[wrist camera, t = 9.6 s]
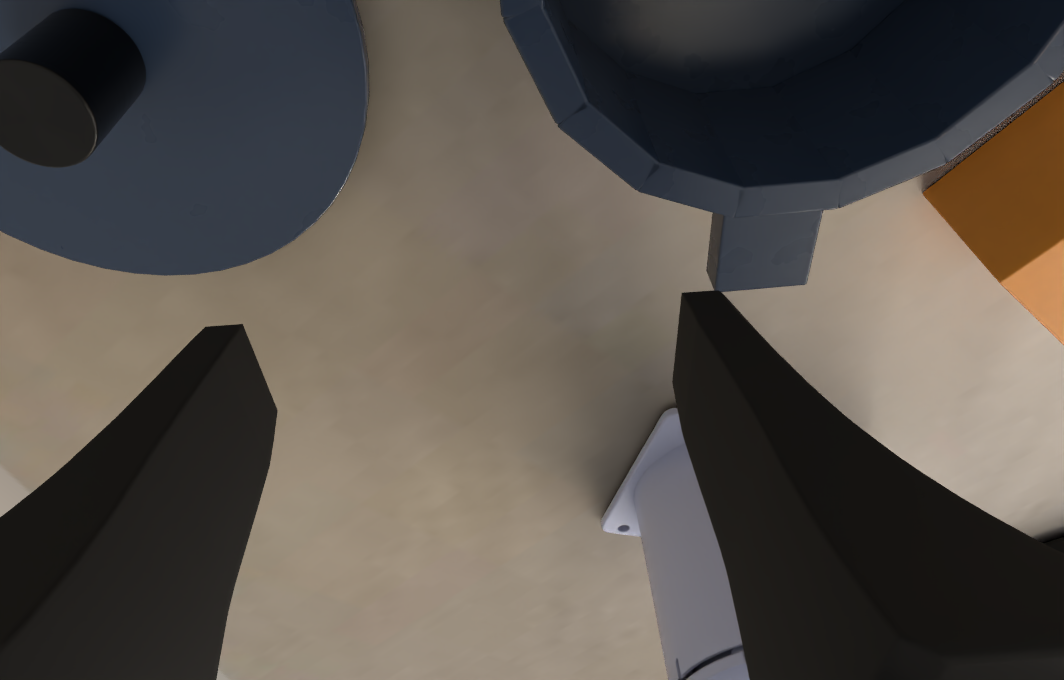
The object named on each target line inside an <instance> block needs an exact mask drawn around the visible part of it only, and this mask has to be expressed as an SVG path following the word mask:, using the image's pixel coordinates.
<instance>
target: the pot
mask: <svg viewBox="0 0 1064 680" xmlns="http://www.w3.org/2000/svg"><path fill="white" fill-rule="evenodd" d="M500 6H501V15H502V17H503V20H504V24H505V26H506V28H507V29H508V31H509V33H510V35H511V37H512V39H513V41H514V43H515V45H516V47H517V49H518V51H519V53H520V55H521V57H522V59H523V61H524V63H525V65H526V67H527V69H528V71H529V72H530V74H531V76H532V78H533V80H534V82H535V84H536V86H537V88H538V90H539V92H540V94H541V96H542V98H543V100H544V102H545V104H546V106H547V108H548V110H549V112H550V114H551V116H552V117H553V119H554V121H555V123H557V124H558V127H559V128H560V129H561V130H562V131H564V132H565V133H566V134H567V135H568V136H570V137H571V138H572V139H573V140H575V141H576V142H577V143H578V144H580V145H581V146H582V147H583V148H585V149H586V150H587V151H588V152H589V153H591V154H592V155H593V156H594V157H596V158H597V159H598V160H599V161H601V162H602V163H603V164H604V165H605V166H607V167H608V168H609V169H610V170H612V171H613V172H614V173H615V174H617V175H618V176H619V177H620V178H621V179H623V180H624V181H625V182H626V183H628V184H629V185H630V186H631V187H633V188H634V189H635V190H638V191H639V192H641V193H645V194H648V195H652V196H656V197H659V198H663V199H666V200H670V201H674V202H677V203H681V204H684V205H688V206H692V207H695V208H699V209H702V210H706V211H710V212H713V214H712V224H711V233H710V242H709V251H708V260H707V273H708V275H709V278H710V281H711V283H712V286H713V288H714V291H716V290H719V291H720V292H726V291H738V290H749V289H760V288H772V287H783V286H795V285H805V284H806V283H807V280H808V276H809V271H810V267H811V262H812V258H813V253H814V249H815V244H816V240H817V235H818V231H819V226H820V222H821V217H822V213H823V210H830V209H837V208H841V207H844V206H846V205H848V204H851V203H853V202H856V201H858V200H861V199H863V198H865V197H868V196H870V195H873V194H875V193H878V192H880V191H883V190H885V189H887V188H890V187H892V186H895V185H897V184H900V183H902V182H904V181H907V180H909V179H912V178H914V177H917V176H919V175H921V174H924V173H926V172H929V171H931V170H934V169H936V168H939V167H941V166H943V165H945V164H946V163H947V162H950V161H951V160H953V159H954V158H955V157H957V156H958V155H959V154H961V153H962V152H963V151H965V150H966V149H967V148H968V147H970V146H971V145H972V144H974V143H975V142H976V141H978V140H979V139H980V138H982V137H983V136H984V135H986V134H987V133H988V132H990V131H991V130H992V129H993V128H995V127H996V126H997V125H999V124H1000V123H1001V122H1003V121H1004V120H1005V119H1007V118H1008V117H1009V116H1011V115H1012V114H1013V113H1015V112H1016V111H1017V110H1018V109H1020V108H1021V107H1022V106H1024V105H1025V104H1026V103H1028V102H1029V101H1030V100H1032V99H1033V98H1034V97H1036V96H1037V95H1038V94H1040V93H1041V92H1042V91H1043V90H1045V89H1046V88H1047V87H1049V86H1050V85H1051V84H1052V83H1053V80H1056V79H1057V78H1058V77H1059V76H1060V75H1061V74H1062V72H1063V71H1064V0H500Z"/></svg>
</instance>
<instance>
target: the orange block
mask: <svg viewBox="0 0 1064 680" xmlns="http://www.w3.org/2000/svg"><path fill="white" fill-rule="evenodd" d="M923 195H924V196H925V197H926V199H927V200H928V201H929V202H930V203H931V204H932V206H933V207H934V208H935V209H936V210H937V211H938V212H939V214H940V215H941V216H942V217H943V218H944V219H945V221H946V222H947V223H948V224H949V225H950V226H951V227H952V229H953V230H954V231H955V232H956V233H957V234H958V236H959V237H960V238H961V239H962V240H963V241H964V242H965V244H966V245H967V246H968V247H969V248H970V249H971V251H972V252H973V253H974V254H975V255H976V256H977V257H978V259H979V260H980V261H981V262H982V263H983V264H984V266H985V267H986V268H987V269H988V270H989V271H990V272H991V274H992V275H993V276H994V277H995V278H996V279H997V281H998V282H999V283H1000V284H1001V285H1002V286H1003V287H1004V288H1005V289H1006V290H1007V291H1008V292H1009V293H1011V294H1012V295H1013V296H1014V297H1015V298H1016V299H1017V300H1018V301H1019V302H1020V303H1021V304H1022V305H1023V306H1024V307H1025V308H1026V309H1027V310H1028V311H1029V312H1030V313H1031V314H1032V315H1033V316H1034V317H1035V318H1036V319H1037V320H1038V321H1039V322H1040V323H1041V324H1042V325H1043V326H1045V327H1046V328H1047V329H1048V330H1049V331H1050V332H1051V333H1052V334H1053V335H1054V336H1055V337H1056V338H1057V339H1058V340H1059V341H1060V342H1061V343H1062V344H1063V345H1064V82H1062V83H1061V84H1060V85H1059V86H1057V87H1056V88H1055V89H1054V90H1052V91H1051V92H1050V93H1049V94H1047V95H1046V96H1045V97H1043V98H1042V99H1041V100H1040V101H1038V102H1037V103H1036V104H1035V105H1033V106H1032V107H1031V108H1030V109H1028V110H1027V111H1026V112H1024V113H1023V114H1022V115H1021V116H1019V117H1018V118H1017V119H1016V120H1014V121H1013V122H1012V123H1011V124H1009V125H1008V126H1007V127H1005V128H1004V129H1003V130H1002V131H1000V132H999V133H998V134H997V135H995V136H994V137H993V138H992V139H990V140H989V141H988V142H986V143H985V144H984V145H983V146H981V147H980V148H979V149H978V150H976V151H975V152H974V153H973V154H971V155H970V156H969V157H968V158H966V159H965V160H964V161H962V162H961V163H960V164H959V165H957V166H956V167H955V168H954V169H952V170H951V171H950V172H949V173H947V174H946V175H945V176H943V177H942V178H941V179H940V180H938V181H937V182H936V183H935V184H933V185H932V186H931V187H930V188H928V189H927V190H926V191H924V192H923Z"/></svg>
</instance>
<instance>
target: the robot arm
mask: <svg viewBox="0 0 1064 680" xmlns="http://www.w3.org/2000/svg"><path fill="white" fill-rule="evenodd" d="M672 383H673V388H674V393H675V399H676V404H677V408H671V409H668V410H667V411H665V412H664V413H663V414H662V415H661V417H660V419H659V421H658V422H657V424H656V426H655V428H654V429H653V431H652V433H651V434H650V436H649V438H648V440H647V441H646V443H645V445H644V447H643V448H642V450H641V452H640V453H639V455H638V457H637V459H636V460H635V462H634V464H633V466H632V467H631V469H630V471H629V472H628V474H627V476H626V478H625V479H624V481H623V483H622V485H621V486H620V488H619V490H618V491H617V493H616V495H615V497H614V498H613V500H612V502H611V504H610V505H609V507H608V509H607V510H606V512H605V514H604V516H603V517H602V519H601V526H602V529H603V530H604V531H605V532H608V533H615V534H624V535H632V536H640V537H641V539H642V544H643V549H644V554H645V560H646V565H647V570H648V575H649V581H650V586H651V591H652V597H653V602H654V607H655V612H656V618H657V623H658V628H659V633H660V639H661V644H662V649H663V654H664V660H665V665H666V670H667V675H668V680H1064V553H1062V552H1060V551H1058V550H1056V549H1053V548H1051V547H1049V546H1047V545H1045V544H1043V543H1041V542H1039V541H1037V540H1036V539H1034V538H1032V537H1030V536H1028V535H1026V534H1024V533H1023V532H1021V531H1019V530H1017V529H1015V528H1014V527H1012V526H1010V525H1008V524H1006V523H1004V522H1003V521H1001V520H999V519H997V518H995V517H993V516H992V515H990V514H988V513H986V512H985V511H983V510H981V509H980V508H978V507H976V506H975V505H973V504H971V503H969V502H968V501H966V500H964V499H963V498H961V497H959V496H958V495H956V494H955V493H953V492H951V491H950V490H948V489H947V488H945V487H944V486H942V485H941V484H939V483H937V482H936V481H934V480H933V479H931V478H930V477H928V476H927V475H925V474H923V473H922V472H920V471H919V470H917V469H916V468H914V467H913V466H911V465H910V464H909V463H907V462H906V461H904V460H903V459H901V458H900V457H898V456H897V455H896V454H894V453H893V452H892V451H890V450H889V449H888V448H886V447H885V446H883V445H882V444H881V443H879V442H878V441H877V440H875V439H874V438H873V437H871V436H870V435H869V434H867V433H866V432H865V431H863V430H862V429H861V428H860V427H858V426H857V425H856V424H855V423H853V422H852V421H851V420H850V419H848V418H847V417H846V416H845V415H844V414H842V413H841V412H840V411H839V410H838V409H837V408H836V407H834V406H833V405H832V404H831V403H830V402H829V401H828V400H827V399H825V398H824V397H823V396H822V395H821V394H820V393H819V392H818V391H817V390H815V389H814V388H813V387H812V386H811V385H810V384H809V383H808V382H807V381H806V380H805V379H804V378H803V377H802V376H801V375H800V374H799V373H798V372H797V371H796V370H795V369H794V368H792V367H791V366H790V365H789V364H788V363H787V362H786V361H785V360H784V359H783V358H782V357H781V356H780V355H779V354H778V353H777V352H776V351H775V350H774V349H773V347H772V346H771V345H770V344H769V343H768V342H767V341H766V340H765V339H764V338H763V337H762V336H761V335H760V334H759V333H758V332H757V331H756V330H755V328H754V327H753V326H752V325H751V324H750V323H749V322H748V321H747V320H746V319H745V318H744V316H743V315H742V314H741V313H740V312H739V311H738V310H737V309H736V308H735V306H734V305H733V304H732V303H731V302H730V301H729V300H728V299H727V298H726V297H725V295H723V294H722V293H721V292H720V291H719V290H716V291H702V292H688V293H682V297H681V306H680V315H679V325H678V334H677V344H676V353H675V363H674V372H673V381H672ZM276 418H277V408H276V406H275V403H274V401H273V398H272V396H271V393H270V391H269V388H268V386H267V383H266V381H265V378H264V376H263V373H262V371H261V368H260V366H259V363H258V361H257V359H256V356H255V354H254V351H253V349H252V346H251V344H250V341H249V339H248V336H247V334H246V331H245V329H244V326H243V324H239V325H224V326H210V327H205V328H204V329H203V330H202V331H201V332H200V333H199V334H198V335H196V336H195V337H194V338H193V339H192V340H191V341H190V342H189V344H188V345H187V346H186V347H185V348H184V349H183V350H182V351H181V352H180V353H179V354H178V355H177V356H176V357H175V358H174V359H173V360H172V361H171V362H170V363H169V364H168V365H167V366H166V367H165V368H164V369H163V370H162V371H161V373H160V374H159V375H158V376H157V377H156V378H155V379H154V380H153V381H152V382H151V383H150V384H149V385H148V386H147V387H146V388H145V389H144V390H143V391H142V392H141V393H140V394H139V395H138V396H137V397H136V398H135V399H134V400H133V401H132V402H131V403H130V404H129V405H128V406H127V407H126V408H125V409H124V410H123V411H122V412H121V413H120V414H119V415H118V416H117V417H116V418H115V419H114V420H113V421H112V422H111V423H110V424H109V425H108V426H106V427H105V428H104V429H103V430H102V431H101V432H100V433H99V434H98V435H97V436H96V437H95V438H94V439H92V440H91V441H90V442H89V443H88V444H87V445H86V446H85V447H84V448H83V449H82V450H81V451H80V452H78V453H77V454H76V455H75V456H74V457H73V458H72V459H71V460H70V461H69V462H68V463H67V464H65V465H64V466H63V467H62V468H61V469H60V470H58V471H57V472H56V473H55V474H54V475H53V476H51V477H50V478H49V479H48V480H47V481H45V482H44V483H43V484H42V485H41V486H39V487H38V488H37V489H36V490H35V491H33V492H32V493H31V494H30V495H28V496H27V497H26V498H24V499H23V500H22V501H21V502H20V503H18V504H17V505H16V506H14V507H13V508H12V509H11V510H9V511H8V512H7V513H5V514H4V515H3V516H1V517H0V680H216V678H217V672H218V665H219V660H220V654H221V649H222V643H223V638H224V632H225V627H226V621H227V616H228V610H229V606H230V602H231V598H232V594H233V590H234V586H235V582H236V579H237V576H238V572H239V569H240V566H241V562H242V559H243V555H244V552H245V549H246V545H247V542H248V539H249V535H250V532H251V528H252V525H253V522H254V518H255V515H256V512H257V508H258V505H259V501H260V498H261V494H262V491H263V487H264V484H265V480H266V477H267V473H268V469H269V466H270V460H271V454H272V448H273V441H274V434H275V426H276Z"/></svg>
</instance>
